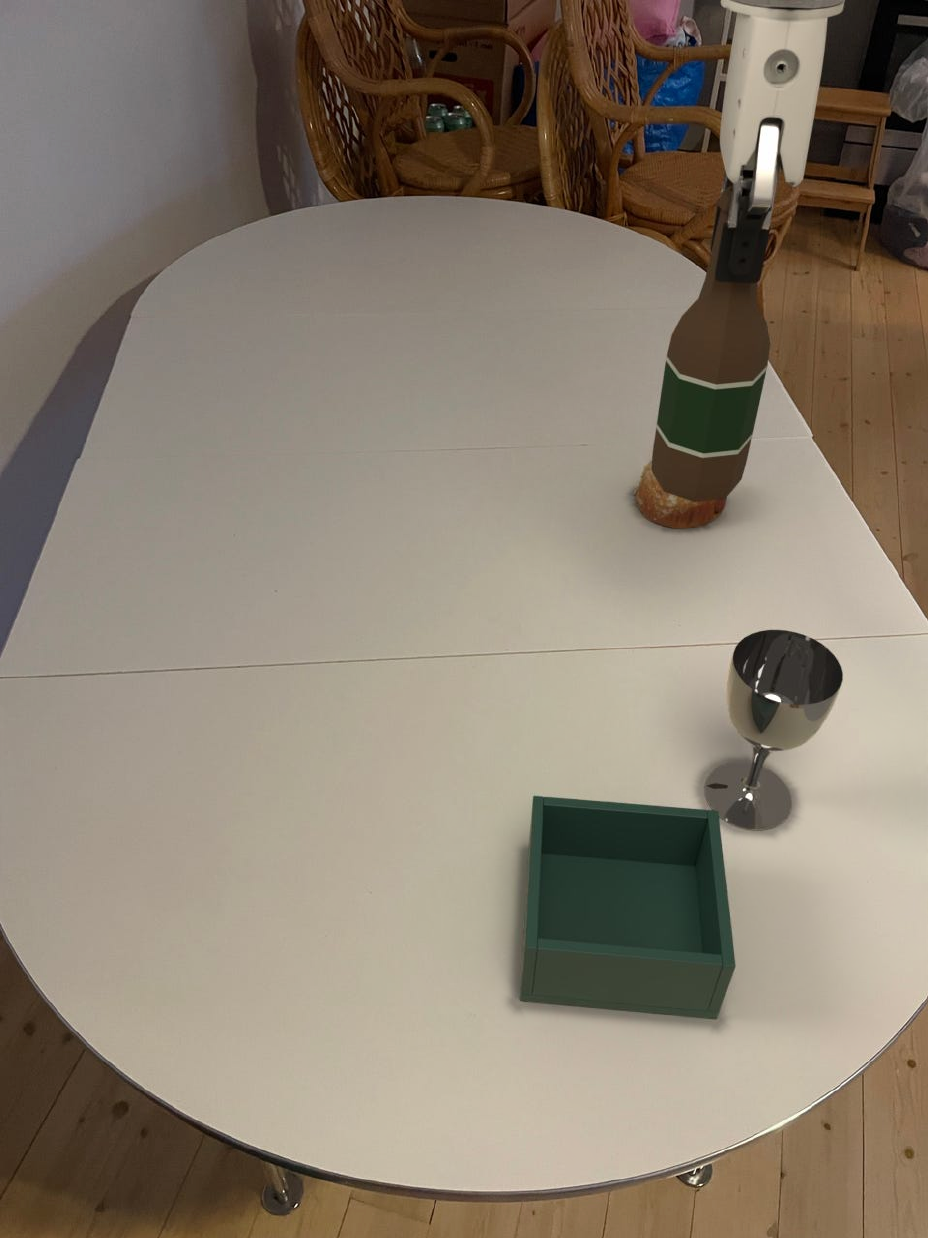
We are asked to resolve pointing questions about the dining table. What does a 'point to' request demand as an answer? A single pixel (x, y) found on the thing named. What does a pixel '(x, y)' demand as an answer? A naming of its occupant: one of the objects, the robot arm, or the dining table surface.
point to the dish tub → (626, 908)
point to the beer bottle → (711, 386)
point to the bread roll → (673, 505)
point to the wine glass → (771, 720)
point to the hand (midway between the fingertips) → (734, 264)
